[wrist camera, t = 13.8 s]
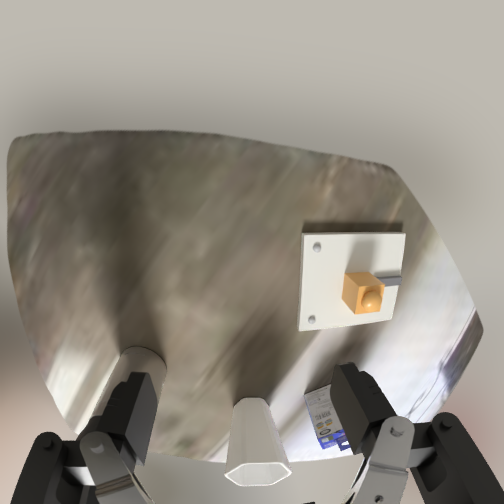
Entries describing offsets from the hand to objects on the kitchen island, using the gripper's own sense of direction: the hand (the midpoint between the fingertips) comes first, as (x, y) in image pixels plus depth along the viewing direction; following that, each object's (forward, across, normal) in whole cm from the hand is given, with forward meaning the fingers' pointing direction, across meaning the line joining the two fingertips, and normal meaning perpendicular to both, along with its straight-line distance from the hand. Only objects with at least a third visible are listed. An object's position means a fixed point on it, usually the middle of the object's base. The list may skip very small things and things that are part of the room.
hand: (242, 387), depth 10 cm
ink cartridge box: (+30, -18, +34) cm, 49 cm away
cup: (+30, -2, +36) cm, 47 cm away
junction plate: (+30, -19, +8) cm, 36 cm away
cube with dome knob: (+29, -19, +8) cm, 35 cm away
